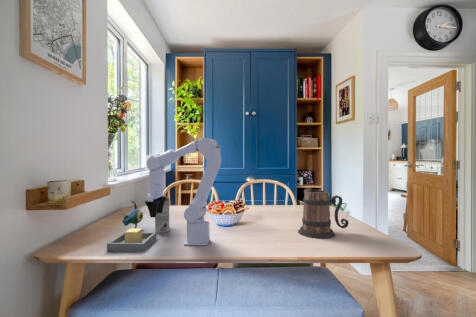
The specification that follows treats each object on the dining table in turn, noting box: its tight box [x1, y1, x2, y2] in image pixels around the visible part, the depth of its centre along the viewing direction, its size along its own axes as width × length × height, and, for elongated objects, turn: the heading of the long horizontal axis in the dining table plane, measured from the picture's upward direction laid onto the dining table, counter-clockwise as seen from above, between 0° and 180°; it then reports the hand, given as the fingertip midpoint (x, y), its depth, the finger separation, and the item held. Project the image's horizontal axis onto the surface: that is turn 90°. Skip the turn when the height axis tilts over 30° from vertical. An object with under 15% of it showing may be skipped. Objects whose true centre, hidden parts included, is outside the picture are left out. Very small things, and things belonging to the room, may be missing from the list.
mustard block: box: [124, 227, 143, 243], centre depth 98 cm, size 5×5×5 cm
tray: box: [106, 231, 157, 252], centre depth 98 cm, size 14×14×3 cm
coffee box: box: [154, 195, 170, 234], centre depth 118 cm, size 9×6×16 cm
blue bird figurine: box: [121, 200, 144, 228], centre depth 115 cm, size 13×12×6 cm
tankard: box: [297, 189, 349, 240], centre depth 113 cm, size 24×17×20 cm
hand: (156, 215), depth 105 cm, fingers open, 7 cm apart
